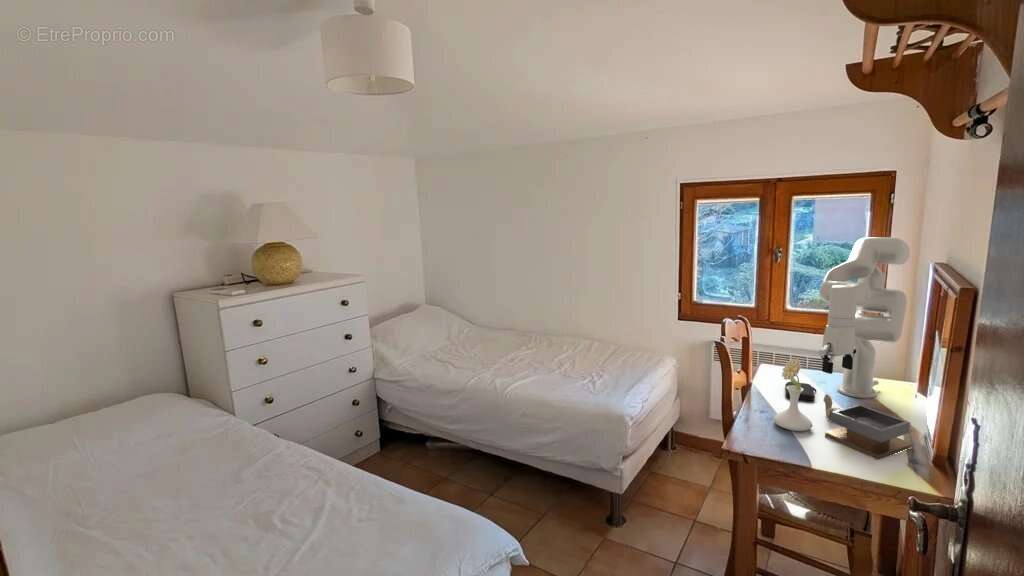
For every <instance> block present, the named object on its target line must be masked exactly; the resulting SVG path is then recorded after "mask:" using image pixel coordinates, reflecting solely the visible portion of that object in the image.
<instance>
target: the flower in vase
mask: <svg viewBox="0 0 1024 576" xmlns="http://www.w3.org/2000/svg"><path fill="white" fill-rule="evenodd" d="M801 367H802V365H801V362H800V360H799V359H798V358H797V359H795V358H791V359H790V360H787V361H786V363H785V365H784V367H783V368H782V371H783V372H782V373H781V377H783V380H786V381H787V380H789V382H792V383H793V384H794V385H796V386H787V387H786V388H787V389H788V391H789V393H790V399H789V407H788V408H787V409H785V410H782V411H781V412H779V413H777V414H775V415H774V417H773V421H774V423H775V424H776V425H777V426H779V427H780V428H782V429H786V430H790V431H793V432H806V431H809V430H811V429H812V428H813V427H814V426H813V422H812V421H811V420H810V419H809V418H808V416H806V414H804V413H803V412H801V411H800V409H799V406H798V405H799V400H798V399H799V395H800V393H801V392H802V391H803V390H804V389H803V388H801V383H802V382H800V378H799V375H798V374H800V370H801ZM795 378H796V379H795Z"/></svg>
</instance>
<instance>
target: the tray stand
mask: <svg viewBox="0 0 1024 576" xmlns="http://www.w3.org/2000/svg"><path fill="white" fill-rule="evenodd" d="M830 422H831V423H832V424H834V425H835V424H836V425H838V426H840V427H837V428H835V429H832V430H828V431H825V433H824V434H825V435H824V437H825V438H828V439H830V440H832V441H834V442H837V443H839V444H841V445H843V446H845V447H848V448H849V449H852V450H855V451H857V452H859V453H862V454H863V455H865V456H868V457H870V458H873V459H875V460H876V461H879V460H883V459H884V458H887V457H890V455H891V456H894V455H896V454H895V453H897V454H899V453H898V452H900V451H903V450H905V449H908V448H910V447H912V446H914V443H913V442H910V441H907V440H905V439H902V438H900V437H901V436H905V435H908V434H910V429H911V422H910V421H908V420H905V419H902V418H899V417H897V416H894V415H890V414H887V413H885V412H882V411H880V410H877V409H874V408H871V407H868V406H865V405H863V404H854V405H851V406H847V407H842V408H840V409H839V410H836V411H832V413H831V421H830ZM903 452H904V451H903ZM900 453H901V452H900ZM893 454H894V455H893Z"/></svg>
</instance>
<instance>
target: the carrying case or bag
mask: <svg viewBox="0 0 1024 576" xmlns="http://www.w3.org/2000/svg"><path fill="white" fill-rule="evenodd" d="M800 383H801V388H803V389H804V390H803V391H802V392H801V393H800V395H799V399H798V401H801V400H802V401H801V402H803V401H804V402H813V401H815V397H816V396H815V393H817V389H816V388H815V387H813V386H812V385H811V384H809V383H804V382H800ZM787 386H796V385H794V384H793V383H792V382H791V381H787V382H786V383H785V388H784V389H785V392H784V393H785V397H786V398H787V399H789V400H790V393H789V391H788V389H787V388H786V387H787Z"/></svg>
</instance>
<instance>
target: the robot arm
mask: <svg viewBox="0 0 1024 576" xmlns="http://www.w3.org/2000/svg"><path fill="white" fill-rule="evenodd" d="M910 252H911V251H910V247H909V244H908V243H907V242H905V240H903V239H901V238H897V237H883V236H882V237H880V236H877V237H876V236H875V237H873V236H871V237H870V236H869V237H868V236H867V237H862V238H860V239H858V240H857V241H856V242H855V243H854V245H853V247H852V250H851V253H850V254H849V257H848V259H847V261H845V262H842V263H841V264H839V265H837V266H835V267H833V268H831V269H830V270H828V272H827V273H826V274H825V276H824V277H823V280H822V282H821V284H820V288H819V297H820V299H821V300H822V301H825V302H829V303H828V316H827V324H826V326H825V329H824V332H823V337H822V338H823V339H822V345H821V348H820V349H819V350H818V351H819V354H820V358H821V361H822V367H821V368H822V369H821V372H823V373H826V374H830V375H832V374H833V372H834V371H833V370H834V362H833V360H834V359H835V357H841V356H842V362H841V367H842V368H843V374H842V383H841V384H839V385H837V387H836V388H837V389H836V390H837V391H838V392H839V393H841V394H843V395H846V396H848V397H852V398H859V399H872V398H876V397H877V395H878V392H877V390H875V389H874V387H875V386H879V383H880V382H879V380H877V379H876V380H874V372H875V361H876V349H875V347H874V345H873V344H872V342H871V341H876V342H883V343H891V344H893V343H897V342H899V340H900V339H901V336H902V333H903V328H904V323H905V316H906V309H907V300H908V299H907V295H906V294H905V292H904V291H902V290H901V289H895V288H894V289H893V288H885V282H886V275H885V274H884V272H883V271H882V269H880V268H879V267H878V266H877V264H879V265H894V266H895V265H904V264H905V263H906V262H907V261H908V260H909V258H910ZM856 280H857V282H856ZM853 281H855V282H853ZM857 310H858V311H862V312H866V313H857ZM867 313H869V314H867ZM870 313H876V314H877V315H876V314H870ZM878 314H884V315H878ZM885 315H888V316H885Z"/></svg>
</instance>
